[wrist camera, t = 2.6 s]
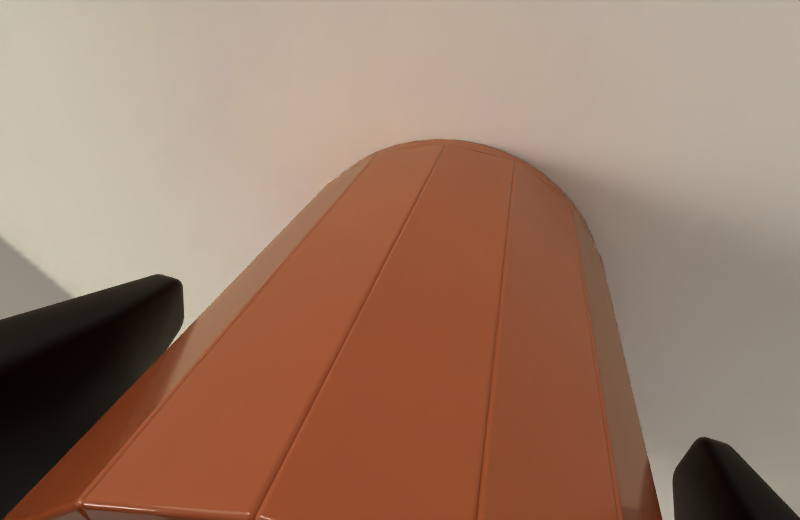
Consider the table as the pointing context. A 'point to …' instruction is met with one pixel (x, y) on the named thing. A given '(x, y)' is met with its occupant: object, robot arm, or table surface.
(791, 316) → the table surface
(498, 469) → the cup
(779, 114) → the table surface
